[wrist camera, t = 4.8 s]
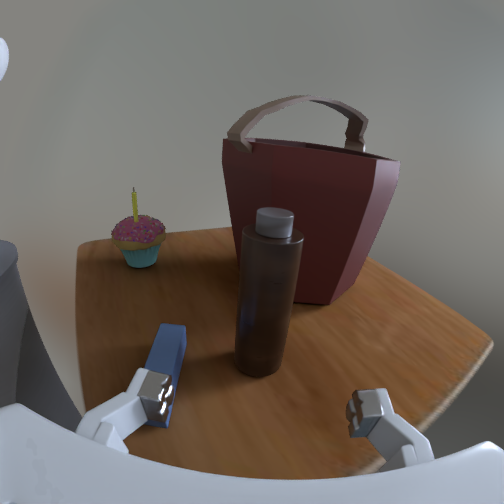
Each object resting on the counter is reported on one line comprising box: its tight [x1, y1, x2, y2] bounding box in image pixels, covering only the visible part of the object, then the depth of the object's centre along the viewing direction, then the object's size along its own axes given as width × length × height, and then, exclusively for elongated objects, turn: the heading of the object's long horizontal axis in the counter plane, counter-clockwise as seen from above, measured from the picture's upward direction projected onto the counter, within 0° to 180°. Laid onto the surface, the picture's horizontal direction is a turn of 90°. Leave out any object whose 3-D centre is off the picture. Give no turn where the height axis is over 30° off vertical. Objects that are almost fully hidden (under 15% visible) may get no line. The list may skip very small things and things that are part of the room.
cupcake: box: [111, 187, 166, 268], centre depth 39 cm, size 9×8×12 cm
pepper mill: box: [234, 207, 304, 377], centre depth 22 cm, size 4×4×14 cm
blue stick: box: [144, 323, 187, 428], centre depth 21 cm, size 10×2×2 cm, turn 1°
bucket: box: [222, 95, 401, 305], centre depth 36 cm, size 24×22×25 cm
